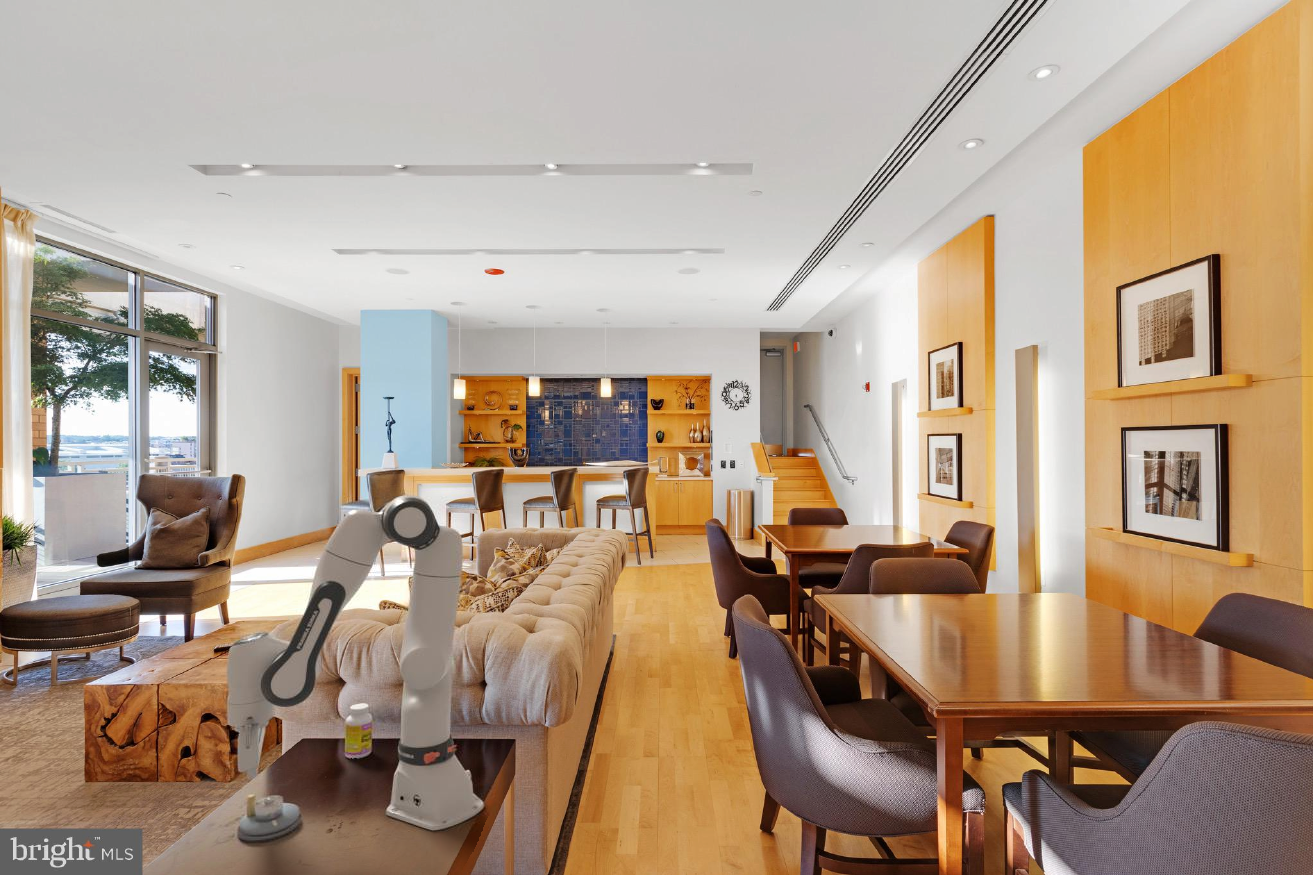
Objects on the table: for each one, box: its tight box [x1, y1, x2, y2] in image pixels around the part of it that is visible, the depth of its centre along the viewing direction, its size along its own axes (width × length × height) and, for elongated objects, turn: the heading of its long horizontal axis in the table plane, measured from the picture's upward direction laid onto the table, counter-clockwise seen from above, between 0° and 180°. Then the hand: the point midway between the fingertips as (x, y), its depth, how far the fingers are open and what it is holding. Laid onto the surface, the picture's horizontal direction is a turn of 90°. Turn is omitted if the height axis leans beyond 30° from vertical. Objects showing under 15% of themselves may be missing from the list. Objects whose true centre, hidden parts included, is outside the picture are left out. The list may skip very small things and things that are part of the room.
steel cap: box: [255, 794, 284, 823], centre depth 148 cm, size 5×5×4 cm
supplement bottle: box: [344, 702, 373, 760], centre depth 186 cm, size 7×7×13 cm
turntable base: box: [237, 812, 302, 844], centre depth 148 cm, size 12×12×1 cm
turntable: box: [239, 793, 300, 835], centre depth 148 cm, size 11×11×5 cm
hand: (252, 775), depth 148 cm, fingers closed
